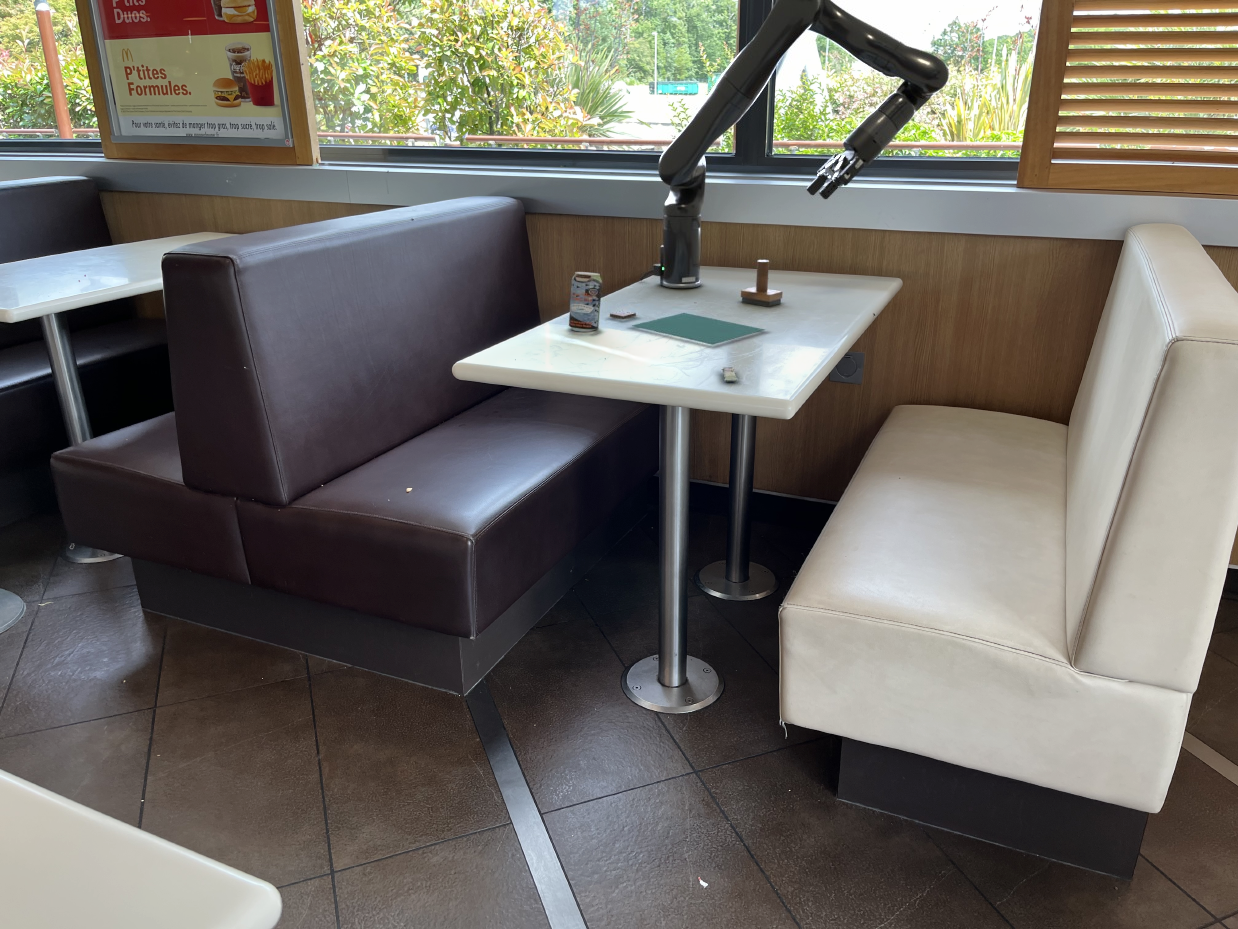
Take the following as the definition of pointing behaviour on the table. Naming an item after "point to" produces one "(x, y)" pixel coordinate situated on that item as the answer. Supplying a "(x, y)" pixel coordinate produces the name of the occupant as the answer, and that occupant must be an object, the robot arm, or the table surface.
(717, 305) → the table surface
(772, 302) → the brush
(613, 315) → the brown square block
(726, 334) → the mat
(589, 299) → the beverage can
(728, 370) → the granola bar
